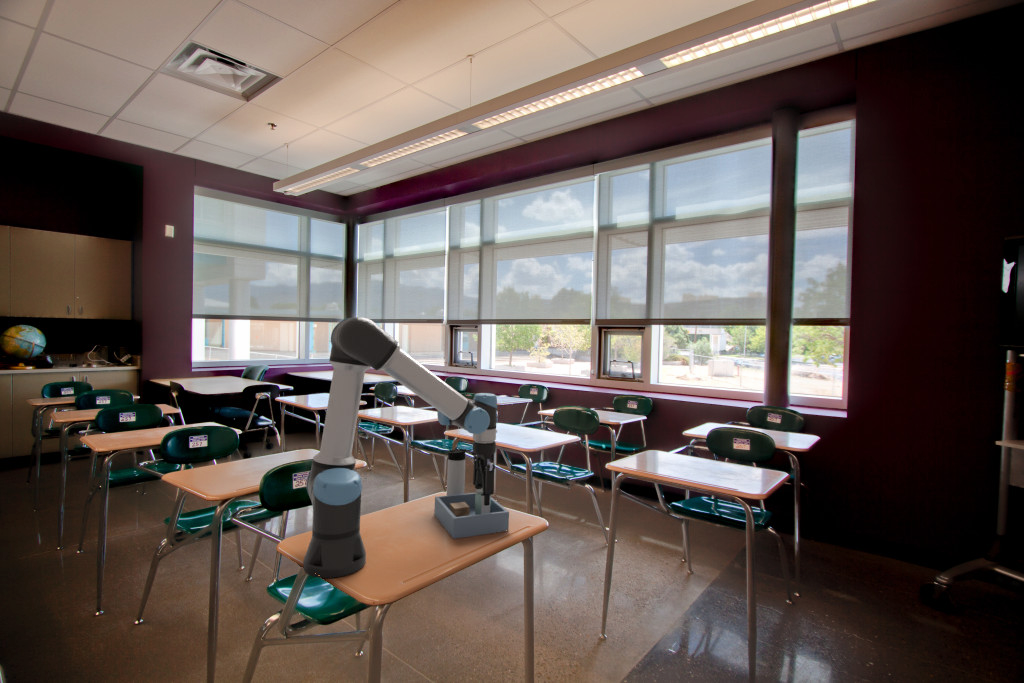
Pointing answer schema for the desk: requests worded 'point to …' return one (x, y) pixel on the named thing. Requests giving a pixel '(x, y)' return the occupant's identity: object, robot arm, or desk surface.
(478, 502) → the teal cylinder
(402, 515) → the desk surface
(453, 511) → the walnut cube
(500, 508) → the tote
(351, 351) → the robot arm
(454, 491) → the travel mug
